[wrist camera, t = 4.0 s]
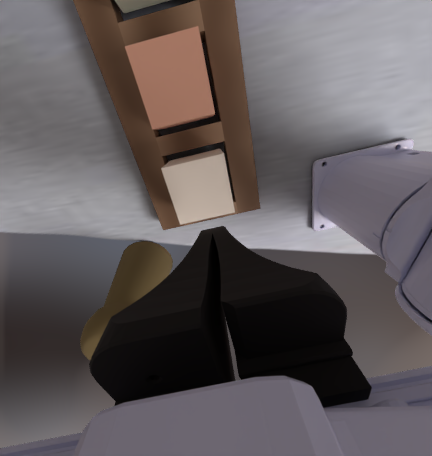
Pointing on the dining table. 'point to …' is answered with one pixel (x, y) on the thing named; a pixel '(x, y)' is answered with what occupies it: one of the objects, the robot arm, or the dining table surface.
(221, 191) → the cream button
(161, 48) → the terracotta button
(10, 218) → the dining table surface
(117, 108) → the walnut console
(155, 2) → the sage button
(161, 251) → the cork
